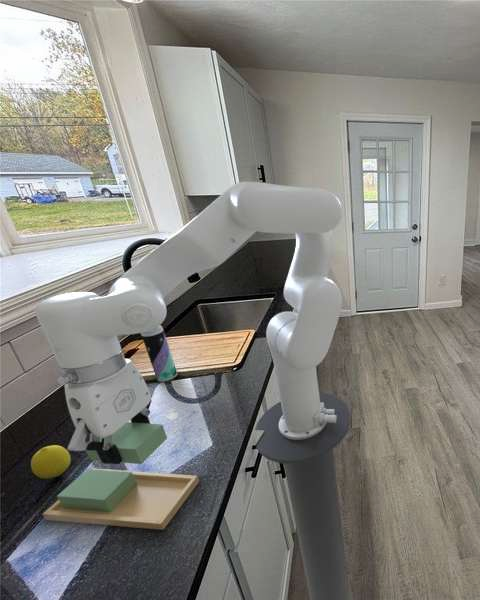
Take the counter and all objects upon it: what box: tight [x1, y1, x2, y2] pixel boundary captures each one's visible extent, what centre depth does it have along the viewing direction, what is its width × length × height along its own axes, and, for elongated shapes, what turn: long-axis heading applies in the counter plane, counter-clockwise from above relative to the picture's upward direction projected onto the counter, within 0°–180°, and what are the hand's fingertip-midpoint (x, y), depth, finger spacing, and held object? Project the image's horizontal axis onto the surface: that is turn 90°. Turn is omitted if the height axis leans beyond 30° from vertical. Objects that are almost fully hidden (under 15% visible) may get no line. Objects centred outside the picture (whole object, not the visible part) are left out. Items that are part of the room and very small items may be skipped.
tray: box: [42, 468, 200, 531], centre depth 63 cm, size 24×10×2 cm, turn 85°
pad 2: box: [56, 468, 137, 512], centre depth 63 cm, size 10×6×4 cm, turn 85°
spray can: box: [140, 324, 178, 383], centre depth 99 cm, size 6×6×20 cm
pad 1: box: [85, 421, 168, 465], centre depth 58 cm, size 10×6×4 cm, turn 85°
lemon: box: [30, 444, 72, 479], centre depth 67 cm, size 6×6×8 cm
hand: (129, 446), depth 59 cm, fingers closed on pad 1, 6 cm apart
